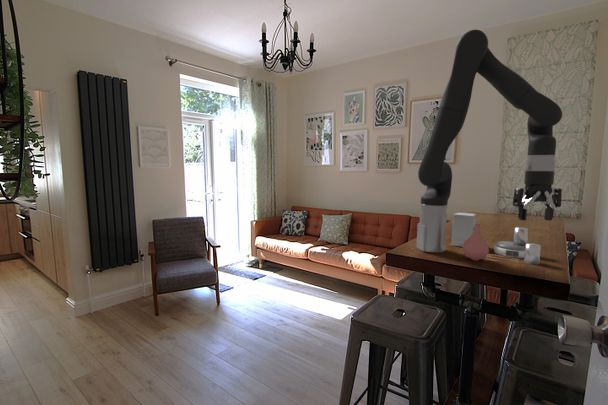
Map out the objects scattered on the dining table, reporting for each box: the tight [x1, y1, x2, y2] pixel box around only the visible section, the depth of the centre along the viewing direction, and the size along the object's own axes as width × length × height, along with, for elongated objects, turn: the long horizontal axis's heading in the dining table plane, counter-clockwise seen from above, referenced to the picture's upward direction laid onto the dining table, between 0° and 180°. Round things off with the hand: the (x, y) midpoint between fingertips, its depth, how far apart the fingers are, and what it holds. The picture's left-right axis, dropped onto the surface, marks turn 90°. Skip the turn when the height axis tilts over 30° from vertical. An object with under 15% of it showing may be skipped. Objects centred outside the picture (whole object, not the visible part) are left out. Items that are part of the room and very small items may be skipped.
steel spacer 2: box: [523, 242, 542, 265], centre depth 103 cm, size 4×4×6 cm
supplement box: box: [451, 212, 477, 248], centre depth 125 cm, size 7×7×13 cm
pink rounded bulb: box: [462, 223, 490, 262], centre depth 105 cm, size 8×8×12 cm
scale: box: [493, 240, 525, 259], centre depth 113 cm, size 11×11×3 cm
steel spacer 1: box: [513, 226, 529, 246], centre depth 113 cm, size 4×4×6 cm
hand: (535, 220), depth 101 cm, fingers open, 8 cm apart
